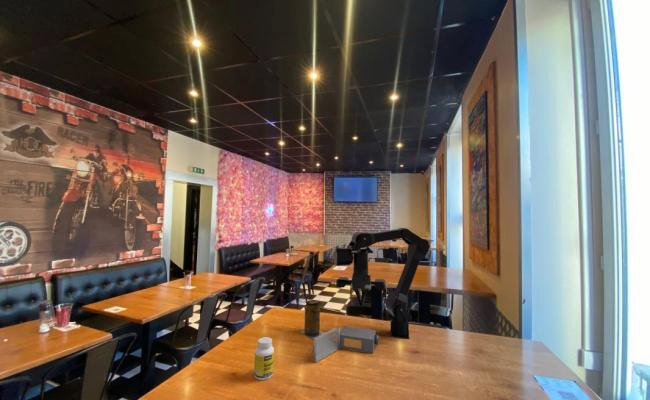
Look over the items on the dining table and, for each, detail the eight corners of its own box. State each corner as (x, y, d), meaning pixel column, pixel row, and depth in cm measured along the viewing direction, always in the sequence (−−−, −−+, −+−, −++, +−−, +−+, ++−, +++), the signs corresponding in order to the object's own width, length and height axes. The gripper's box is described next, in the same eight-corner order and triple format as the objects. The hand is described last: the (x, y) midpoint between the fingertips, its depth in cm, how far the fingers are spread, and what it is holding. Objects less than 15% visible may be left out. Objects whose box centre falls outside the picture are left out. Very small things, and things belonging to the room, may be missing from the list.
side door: (315, 362, 83) (316, 339, 84) (312, 360, 84) (312, 337, 85) (337, 349, 91) (337, 328, 92) (333, 348, 92) (334, 327, 93)
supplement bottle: (263, 383, 73) (264, 346, 73) (250, 376, 75) (251, 341, 76) (277, 373, 77) (278, 338, 78) (263, 367, 80) (264, 334, 81)
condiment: (313, 327, 110) (314, 298, 111) (327, 334, 104) (327, 303, 105) (299, 332, 106) (299, 301, 107) (312, 339, 99) (312, 306, 100)
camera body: (379, 343, 97) (379, 323, 97) (376, 355, 88) (376, 333, 88) (342, 338, 101) (342, 318, 101) (336, 349, 92) (336, 327, 92)
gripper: (332, 267, 98) (332, 310, 97) (384, 269, 93) (385, 315, 92) (339, 262, 109) (339, 301, 108) (385, 264, 104) (386, 305, 103)
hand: (361, 305), depth 102 cm, fingers closed
